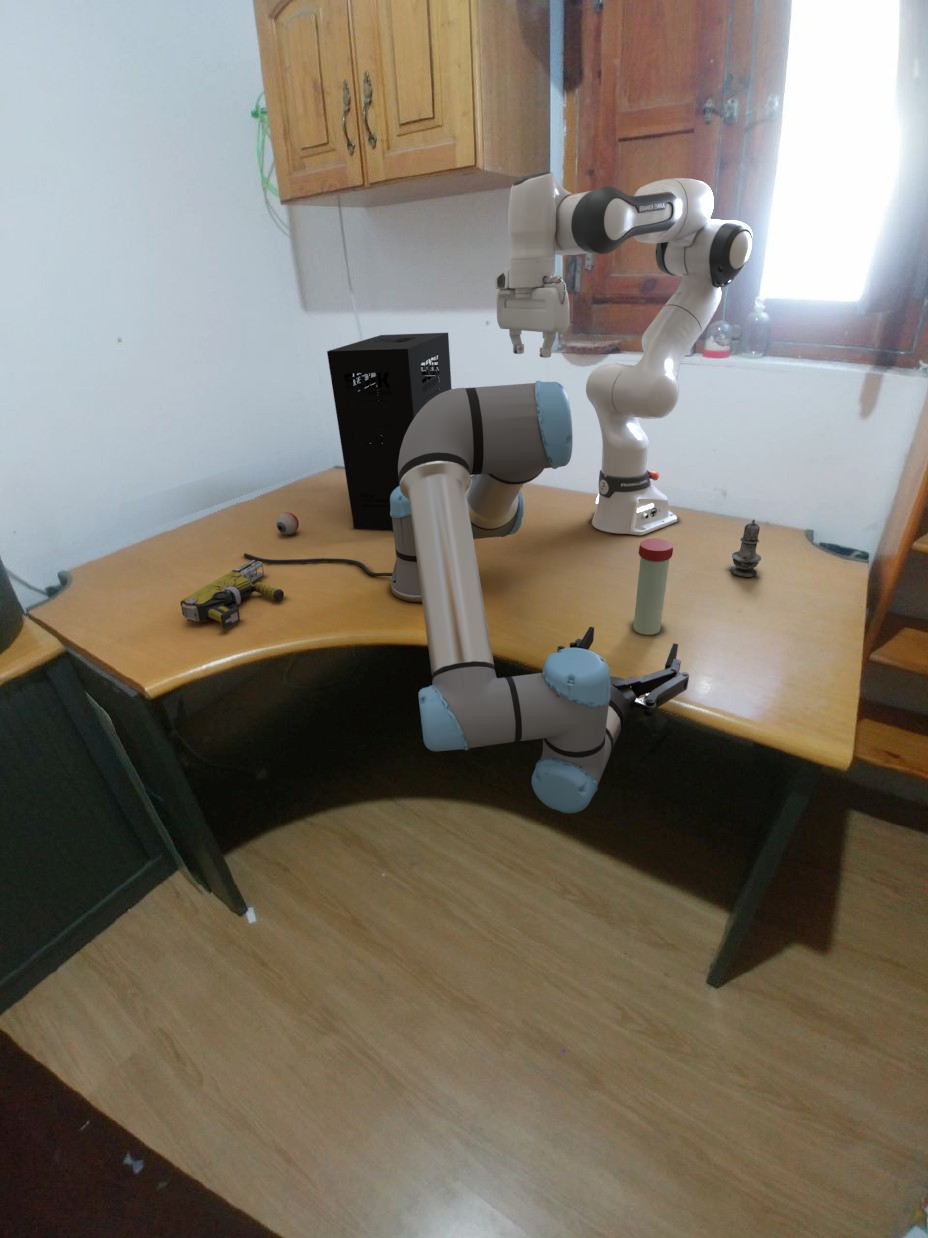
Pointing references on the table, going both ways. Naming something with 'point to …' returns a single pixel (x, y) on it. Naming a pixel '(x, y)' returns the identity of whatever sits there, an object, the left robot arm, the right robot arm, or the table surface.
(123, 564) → the table surface
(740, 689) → the table surface
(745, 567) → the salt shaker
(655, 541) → the lid
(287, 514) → the eyeball
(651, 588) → the jar
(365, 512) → the black computer case
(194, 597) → the toy gun
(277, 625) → the table surface
